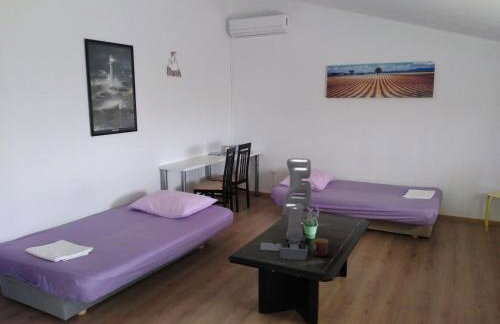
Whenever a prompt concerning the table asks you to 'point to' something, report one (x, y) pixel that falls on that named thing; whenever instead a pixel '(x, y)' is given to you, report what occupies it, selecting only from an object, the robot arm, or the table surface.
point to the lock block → (294, 244)
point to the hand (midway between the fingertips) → (294, 248)
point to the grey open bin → (293, 253)
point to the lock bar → (270, 246)
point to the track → (268, 250)
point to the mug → (320, 247)
